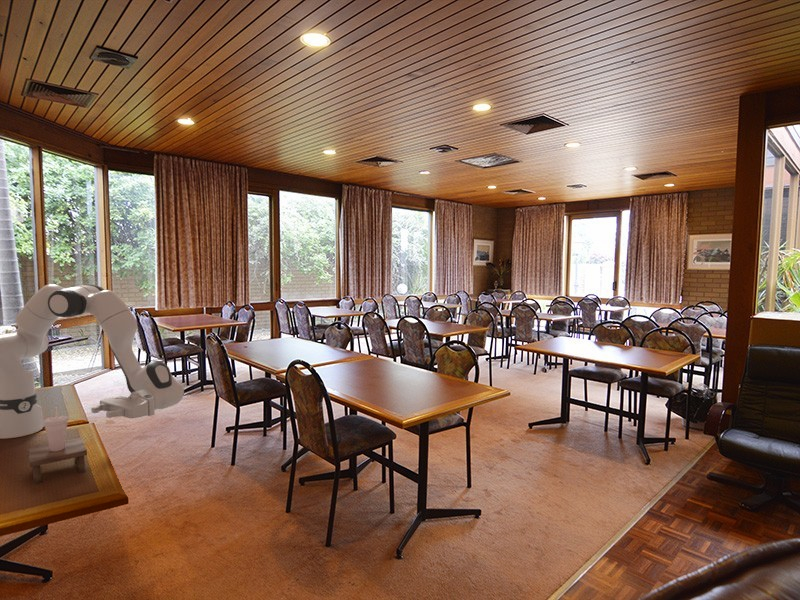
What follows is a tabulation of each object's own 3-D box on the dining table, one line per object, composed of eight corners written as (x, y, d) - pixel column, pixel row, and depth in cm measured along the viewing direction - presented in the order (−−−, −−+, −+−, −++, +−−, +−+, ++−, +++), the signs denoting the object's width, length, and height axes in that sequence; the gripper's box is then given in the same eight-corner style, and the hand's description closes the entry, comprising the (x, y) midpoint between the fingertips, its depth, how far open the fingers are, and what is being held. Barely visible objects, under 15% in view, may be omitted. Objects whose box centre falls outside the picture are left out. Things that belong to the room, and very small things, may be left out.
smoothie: (57, 453, 144) (54, 408, 143) (39, 452, 145) (36, 407, 144) (75, 445, 150) (72, 402, 149) (57, 444, 151) (54, 401, 150)
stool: (29, 469, 149) (28, 447, 149) (82, 457, 158) (81, 437, 158) (31, 485, 138) (29, 462, 138) (87, 471, 147) (86, 450, 147)
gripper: (123, 390, 176) (83, 399, 164) (156, 398, 165) (115, 408, 153) (124, 406, 176) (84, 417, 164) (156, 415, 166) (116, 427, 154)
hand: (99, 413), depth 159 cm, fingers open, 8 cm apart
